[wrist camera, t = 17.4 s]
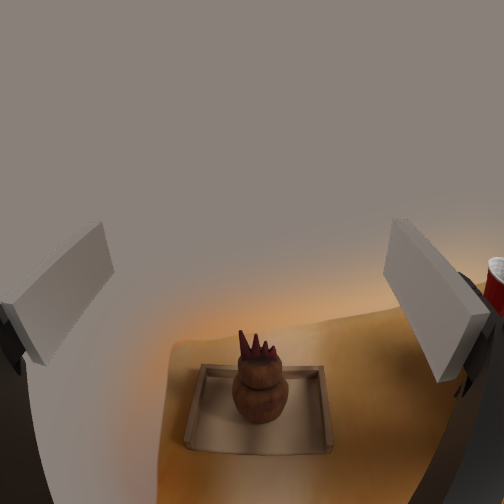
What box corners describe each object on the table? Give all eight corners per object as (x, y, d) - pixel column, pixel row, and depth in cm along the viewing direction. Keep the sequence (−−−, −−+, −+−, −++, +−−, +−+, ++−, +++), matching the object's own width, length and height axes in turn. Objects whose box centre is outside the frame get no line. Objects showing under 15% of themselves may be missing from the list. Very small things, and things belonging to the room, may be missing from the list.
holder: (321, 376, 41) (323, 365, 40) (329, 453, 30) (333, 445, 28) (203, 374, 42) (201, 363, 41) (187, 449, 31) (183, 440, 30)
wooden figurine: (227, 419, 35) (214, 340, 28) (246, 388, 39) (240, 306, 33) (276, 435, 32) (281, 360, 25) (292, 402, 37) (300, 321, 30)
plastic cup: (483, 338, 43) (506, 286, 37) (462, 305, 52) (479, 256, 47) (516, 332, 42) (539, 283, 36) (495, 302, 51) (512, 257, 46)
